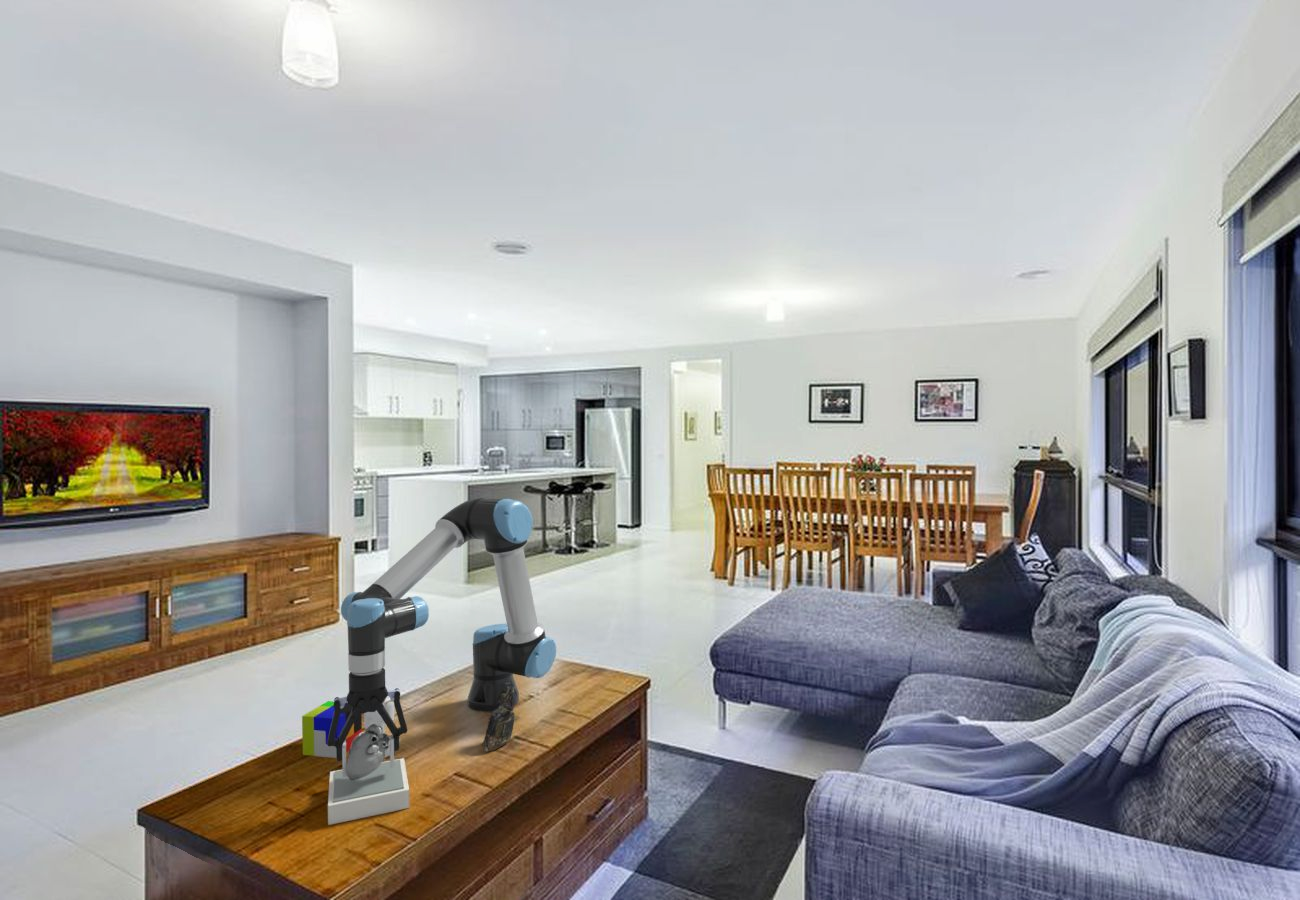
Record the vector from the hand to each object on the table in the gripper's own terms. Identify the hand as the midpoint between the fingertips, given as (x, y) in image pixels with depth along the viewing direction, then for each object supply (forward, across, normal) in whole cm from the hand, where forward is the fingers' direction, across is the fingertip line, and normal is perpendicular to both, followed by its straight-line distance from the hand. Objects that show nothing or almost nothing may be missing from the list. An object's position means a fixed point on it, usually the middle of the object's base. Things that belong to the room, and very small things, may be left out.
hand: (368, 769), depth 152 cm
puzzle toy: (+7, +8, -31) cm, 33 cm away
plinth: (+6, 0, 0) cm, 6 cm away
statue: (+7, -32, -15) cm, 36 cm away
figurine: (+7, -3, -21) cm, 22 cm away
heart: (+1, +1, 0) cm, 1 cm away
